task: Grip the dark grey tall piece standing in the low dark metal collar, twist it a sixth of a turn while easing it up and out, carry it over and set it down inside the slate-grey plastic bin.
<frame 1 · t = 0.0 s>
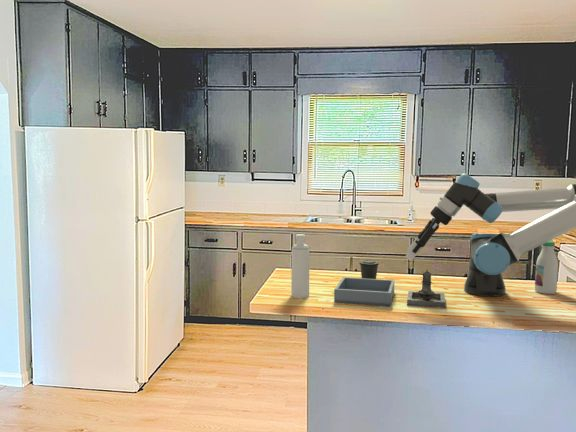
hand: (408, 255, 201), 15 cm above the countertop, tool tilted 35°, fingers open, 13 cm apart
dark grey tall piece: (426, 302, 194), resting in collar
coffee cup: (368, 285, 220), on the countertop
collar: (426, 301, 194), on the countertop
milk bottle: (545, 292, 209), on the countertop
bin: (365, 297, 200), on the countertop
white plastic bottle: (300, 296, 202), on the countertop
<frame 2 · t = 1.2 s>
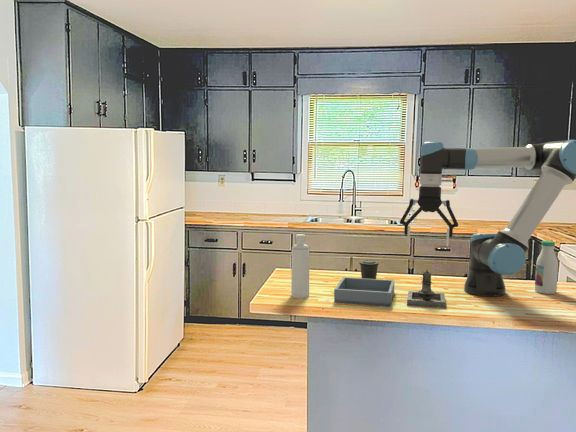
hand: (427, 245, 192), 21 cm above the countertop, tool pointing down, fingers open, 13 cm apart
nothing on the countertop moved.
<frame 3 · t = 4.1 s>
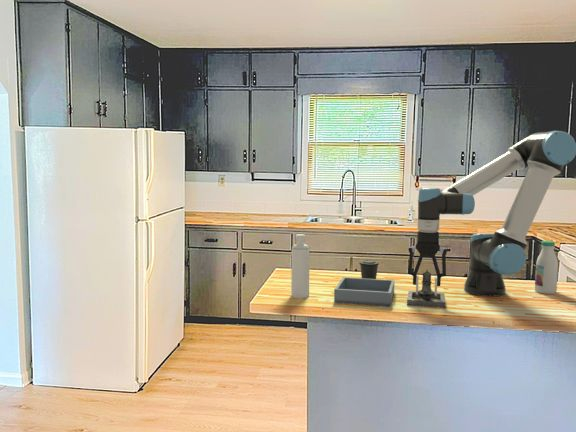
hand: (426, 294, 194), 3 cm above the countertop, tool pointing down, fingers closed on dark grey tall piece, 6 cm apart
dark grey tall piece: (426, 302, 194), resting in collar, touching gripper
everything else where it was.
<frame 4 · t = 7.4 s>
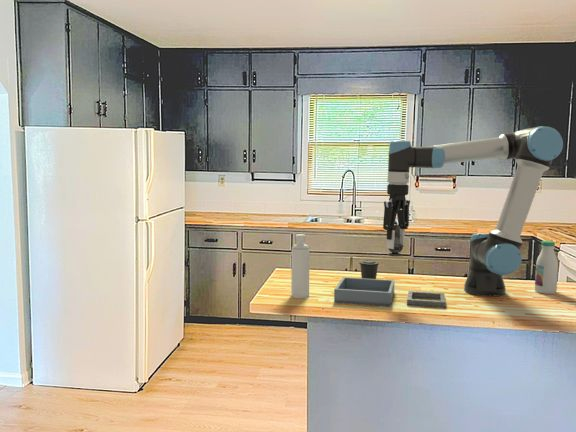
hand: (395, 247, 195), 20 cm above the countertop, tool pointing down, fingers closed on dark grey tall piece, 6 cm apart
dark grey tall piece: (394, 255, 195), point 17 cm above the countertop, touching gripper
everything else where it was.
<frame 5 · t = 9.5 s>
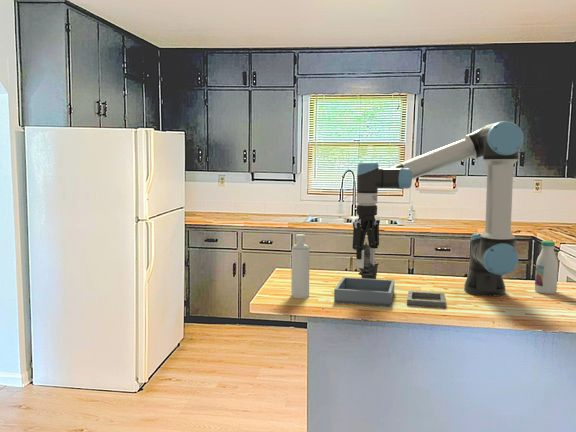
hand: (365, 266, 198), 12 cm above the countertop, tool pointing down, fingers closed on dark grey tall piece, 6 cm apart
dark grey tall piece: (365, 274, 199), point 9 cm above the countertop, touching gripper
everything else where it was.
when the fingers open (5 cm above the countertop, at t = 11.0 s): dark grey tall piece drops 1 cm, resting on bin.
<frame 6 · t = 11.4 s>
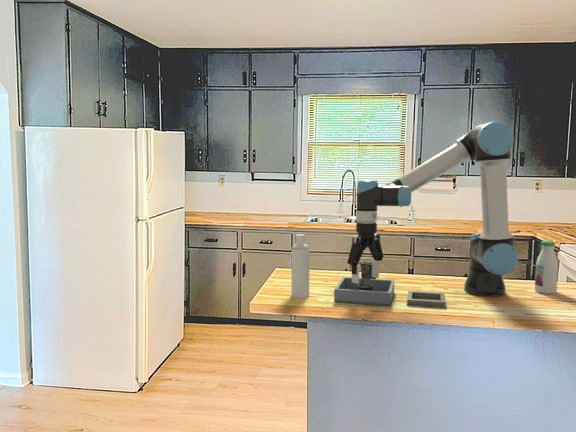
hand: (365, 280, 199), 7 cm above the countertop, tool pointing down, fingers open, 11 cm apart
dark grey tall piece: (365, 295, 199), point 1 cm above the countertop, touching bin
everything else where it was.
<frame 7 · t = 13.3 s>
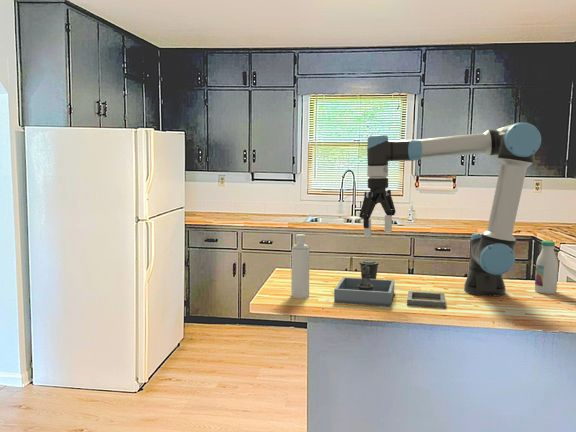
hand: (378, 234, 199), 23 cm above the countertop, tool pointing down, fingers open, 13 cm apart
nothing on the countertop moved.
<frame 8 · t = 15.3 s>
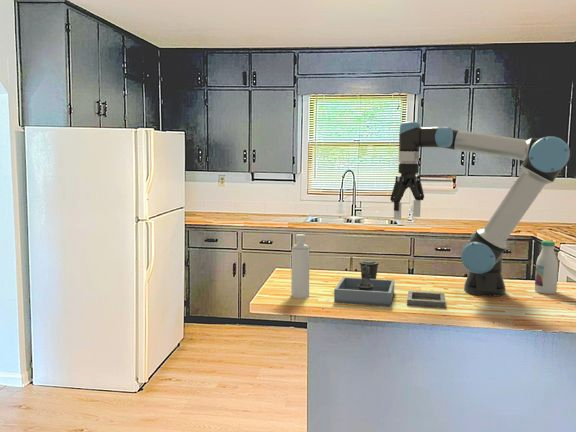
hand: (407, 218, 207), 29 cm above the countertop, tool pointing down, fingers open, 13 cm apart
nothing on the countertop moved.
at the end: dark grey tall piece inside the target area on the bin (0.1 cm from its centre), point 0.8 cm above the bin's base; the gripper is holding nothing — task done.
